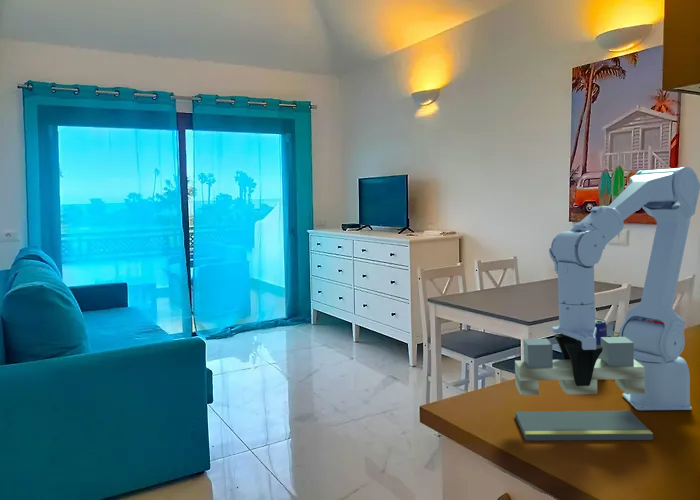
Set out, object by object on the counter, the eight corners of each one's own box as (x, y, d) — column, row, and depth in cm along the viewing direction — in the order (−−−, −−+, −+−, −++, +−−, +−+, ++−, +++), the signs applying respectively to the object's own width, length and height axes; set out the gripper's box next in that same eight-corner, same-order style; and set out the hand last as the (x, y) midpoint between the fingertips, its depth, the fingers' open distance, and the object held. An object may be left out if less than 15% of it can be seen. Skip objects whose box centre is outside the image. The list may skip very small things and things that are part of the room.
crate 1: (547, 360, 99) (546, 338, 99) (552, 367, 95) (552, 344, 95) (524, 361, 100) (523, 339, 100) (528, 368, 96) (527, 345, 96)
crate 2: (625, 359, 98) (624, 336, 97) (633, 366, 94) (633, 342, 93) (600, 359, 98) (600, 337, 98) (608, 366, 94) (608, 343, 94)
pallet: (633, 383, 98) (633, 358, 98) (644, 393, 94) (644, 366, 93) (515, 385, 101) (514, 360, 101) (520, 394, 96) (519, 369, 96)
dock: (629, 415, 101) (629, 410, 101) (652, 439, 91) (652, 433, 91) (515, 417, 104) (515, 411, 104) (525, 440, 94) (525, 434, 94)
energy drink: (610, 377, 122) (609, 323, 121) (583, 377, 123) (582, 323, 122) (604, 370, 127) (603, 317, 126) (578, 370, 128) (577, 318, 127)
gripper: (542, 295, 104) (544, 367, 105) (562, 311, 89) (564, 394, 90) (582, 293, 103) (584, 366, 104) (609, 309, 88) (610, 394, 90)
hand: (578, 379), depth 97 cm, fingers closed on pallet, 5 cm apart
